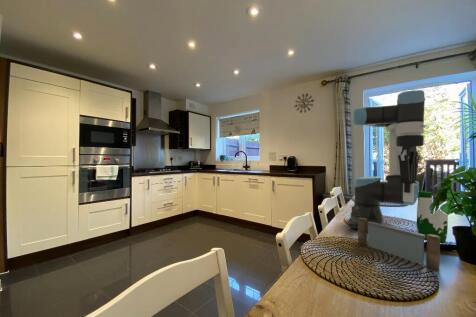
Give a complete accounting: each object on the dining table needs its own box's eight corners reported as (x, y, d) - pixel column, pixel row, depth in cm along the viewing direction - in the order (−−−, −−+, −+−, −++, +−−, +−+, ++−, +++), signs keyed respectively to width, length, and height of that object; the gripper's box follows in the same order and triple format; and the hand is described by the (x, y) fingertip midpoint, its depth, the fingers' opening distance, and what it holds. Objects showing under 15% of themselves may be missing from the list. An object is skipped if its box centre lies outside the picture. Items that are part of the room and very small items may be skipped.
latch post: (427, 265, 67) (428, 233, 67) (440, 269, 65) (441, 236, 65) (424, 267, 65) (425, 235, 65) (437, 272, 63) (438, 238, 63)
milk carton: (415, 236, 91) (416, 189, 91) (444, 241, 86) (446, 192, 86) (417, 242, 84) (418, 192, 84) (448, 249, 79) (450, 195, 79)
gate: (366, 245, 80) (367, 222, 80) (369, 244, 81) (369, 221, 81) (422, 264, 66) (423, 236, 66) (424, 263, 67) (425, 234, 67)
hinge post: (360, 242, 84) (360, 217, 84) (368, 245, 82) (368, 219, 82) (356, 244, 82) (356, 218, 82) (364, 247, 80) (364, 220, 80)
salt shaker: (364, 232, 95) (364, 206, 95) (349, 231, 96) (350, 205, 96) (359, 228, 101) (359, 203, 100) (345, 227, 102) (346, 202, 101)
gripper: (416, 133, 69) (414, 206, 69) (429, 135, 76) (427, 201, 76) (389, 134, 75) (388, 201, 75) (404, 137, 82) (402, 198, 83)
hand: (408, 201), depth 76 cm, fingers closed
